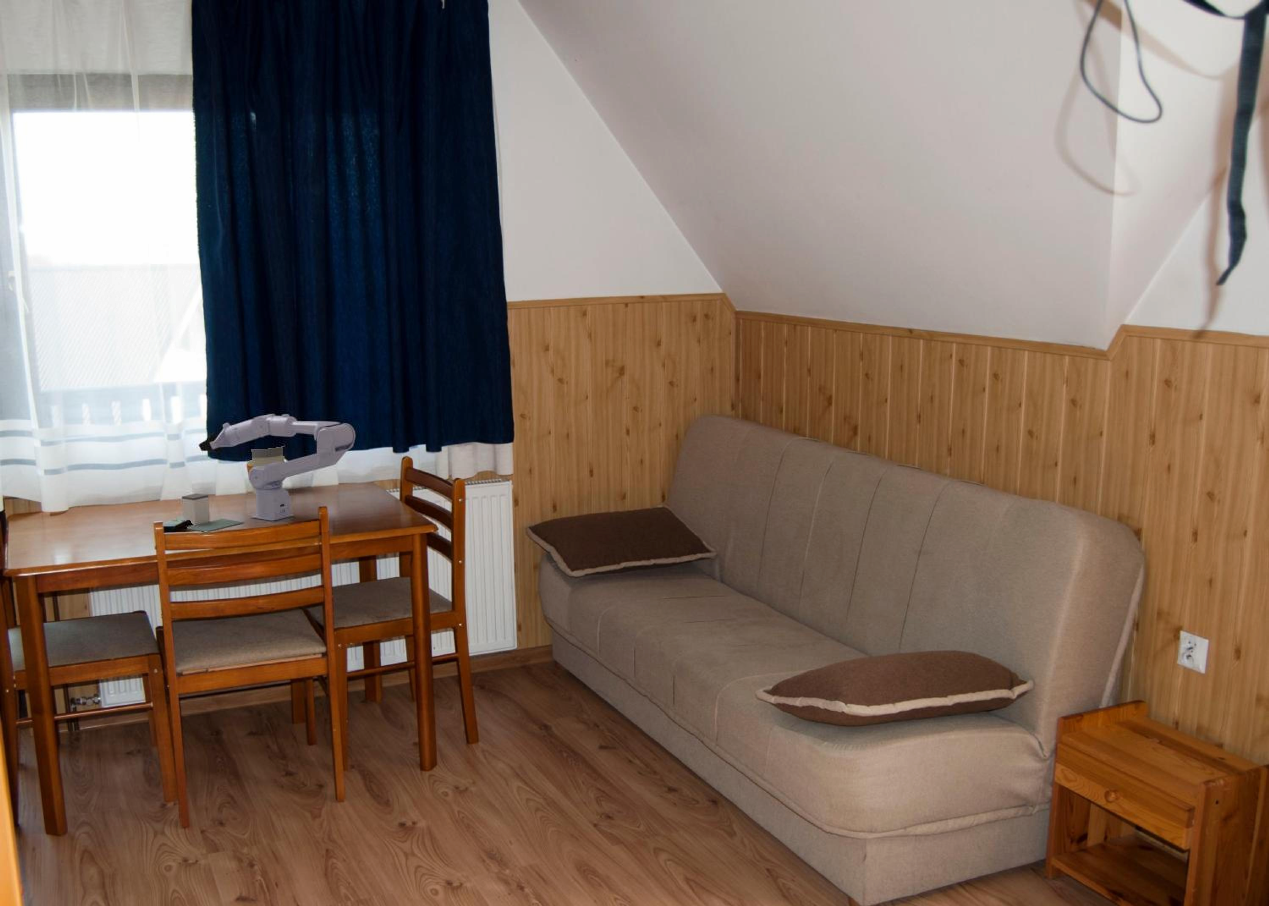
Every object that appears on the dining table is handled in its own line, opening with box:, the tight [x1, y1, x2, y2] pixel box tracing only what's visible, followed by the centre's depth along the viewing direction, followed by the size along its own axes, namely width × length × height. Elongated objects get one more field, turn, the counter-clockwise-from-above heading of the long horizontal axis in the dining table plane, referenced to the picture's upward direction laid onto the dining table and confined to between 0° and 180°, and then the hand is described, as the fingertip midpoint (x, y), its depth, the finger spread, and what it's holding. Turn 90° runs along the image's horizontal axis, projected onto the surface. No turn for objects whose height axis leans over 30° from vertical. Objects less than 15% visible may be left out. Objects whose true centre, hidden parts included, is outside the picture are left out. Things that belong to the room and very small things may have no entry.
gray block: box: [181, 492, 211, 526], centre depth 331 cm, size 5×5×8 cm
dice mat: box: [186, 518, 245, 532], centre depth 327 cm, size 9×13×1 cm
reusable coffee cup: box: [246, 445, 285, 495], centre depth 374 cm, size 13×13×15 cm
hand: (209, 442), depth 344 cm, fingers open, 7 cm apart
